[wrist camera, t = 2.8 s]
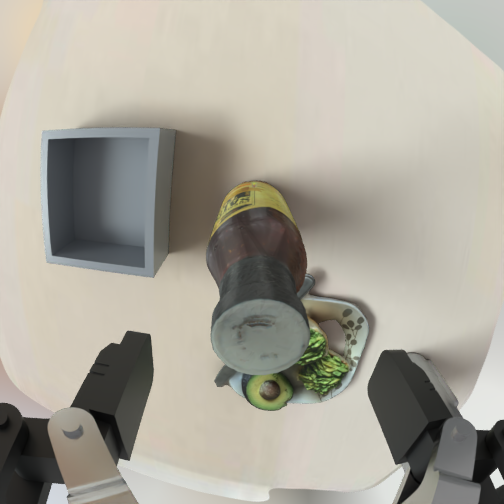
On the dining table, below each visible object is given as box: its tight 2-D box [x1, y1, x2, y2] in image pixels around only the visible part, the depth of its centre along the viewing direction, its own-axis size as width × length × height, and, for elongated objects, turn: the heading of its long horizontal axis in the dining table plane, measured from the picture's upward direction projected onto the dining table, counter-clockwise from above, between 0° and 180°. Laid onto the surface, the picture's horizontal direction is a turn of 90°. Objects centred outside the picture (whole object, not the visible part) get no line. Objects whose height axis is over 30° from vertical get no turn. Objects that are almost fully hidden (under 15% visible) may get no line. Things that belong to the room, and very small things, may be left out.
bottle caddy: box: [41, 128, 176, 278], centre depth 26 cm, size 12×13×6 cm
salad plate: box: [215, 274, 369, 411], centre depth 34 cm, size 19×18×5 cm
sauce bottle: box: [206, 181, 310, 375], centre depth 21 cm, size 7×6×20 cm
